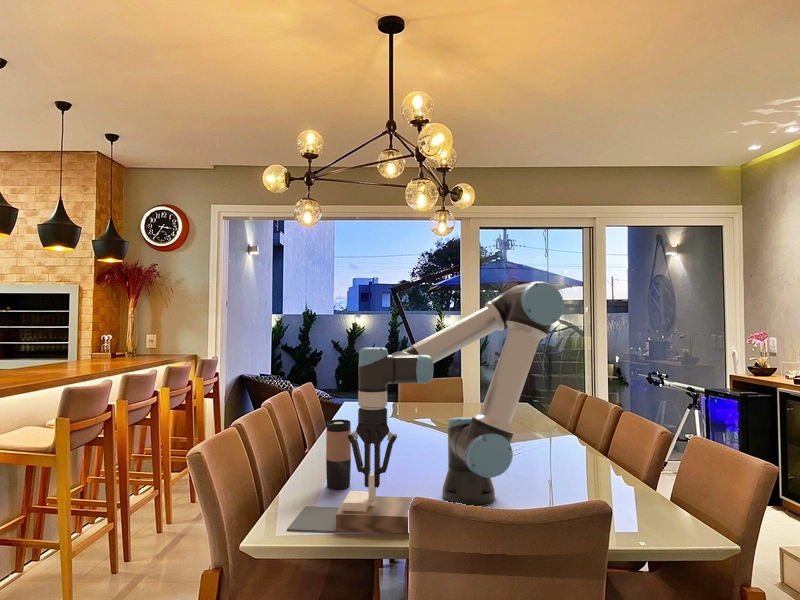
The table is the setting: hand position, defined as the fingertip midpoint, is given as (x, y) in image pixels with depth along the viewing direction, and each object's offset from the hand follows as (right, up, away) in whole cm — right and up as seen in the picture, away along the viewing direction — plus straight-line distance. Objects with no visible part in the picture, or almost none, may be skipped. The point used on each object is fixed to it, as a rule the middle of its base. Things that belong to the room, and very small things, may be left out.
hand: (372, 499), depth 133 cm
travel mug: (-12, -7, +28) cm, 31 cm away
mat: (-14, -6, +1) cm, 15 cm away
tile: (-4, -2, 0) cm, 4 cm away
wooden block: (+2, -5, 0) cm, 6 cm away
